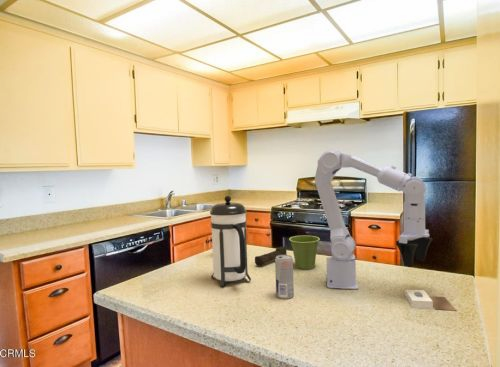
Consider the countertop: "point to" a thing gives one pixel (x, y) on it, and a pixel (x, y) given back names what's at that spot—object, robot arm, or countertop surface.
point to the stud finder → (419, 299)
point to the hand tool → (270, 256)
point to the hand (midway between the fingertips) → (414, 263)
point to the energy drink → (284, 276)
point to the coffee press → (229, 242)
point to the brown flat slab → (441, 303)
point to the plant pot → (304, 250)
